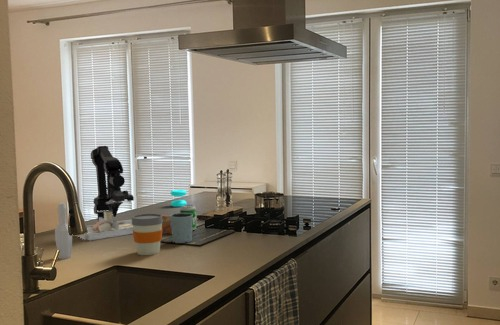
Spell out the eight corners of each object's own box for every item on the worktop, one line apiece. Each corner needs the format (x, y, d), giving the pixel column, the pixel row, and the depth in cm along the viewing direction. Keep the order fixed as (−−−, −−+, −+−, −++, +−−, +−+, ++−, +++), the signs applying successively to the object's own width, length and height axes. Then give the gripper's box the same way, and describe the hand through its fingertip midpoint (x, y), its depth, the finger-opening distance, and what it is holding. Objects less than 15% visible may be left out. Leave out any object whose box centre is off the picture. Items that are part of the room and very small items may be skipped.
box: (72, 235, 258) (72, 226, 258) (97, 231, 266) (97, 223, 265) (84, 240, 246) (83, 231, 246) (109, 235, 254) (109, 227, 254)
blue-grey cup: (184, 237, 246) (183, 211, 245) (198, 240, 239) (197, 214, 238) (166, 241, 239) (165, 215, 238) (180, 244, 232) (179, 217, 231)
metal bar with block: (97, 223, 268) (96, 209, 268) (103, 222, 270) (102, 208, 269) (114, 229, 252) (113, 214, 252) (120, 228, 254) (119, 213, 254)
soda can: (184, 232, 258) (183, 207, 257) (178, 229, 265) (178, 205, 264) (198, 230, 262) (197, 206, 261) (193, 228, 268) (192, 204, 267)
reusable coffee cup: (129, 251, 222) (127, 215, 221) (157, 247, 228) (156, 212, 227) (138, 257, 211) (136, 220, 210) (168, 253, 218) (167, 216, 216)
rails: (72, 233, 261) (72, 227, 261) (130, 225, 280) (130, 219, 280) (88, 240, 244) (88, 234, 244) (149, 230, 263) (149, 224, 263)
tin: (151, 232, 261) (150, 215, 260) (155, 230, 264) (154, 214, 263) (176, 234, 254) (176, 217, 253) (180, 233, 257) (180, 215, 256)
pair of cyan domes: (167, 191, 338) (177, 189, 346) (167, 206, 339) (177, 204, 347) (179, 191, 333) (189, 189, 341) (180, 207, 334) (190, 205, 342)
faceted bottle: (53, 257, 214) (50, 203, 213) (67, 254, 219) (65, 201, 217) (61, 260, 210) (58, 204, 208) (76, 257, 215) (73, 202, 213)
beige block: (99, 231, 258) (97, 226, 257) (108, 228, 260) (106, 222, 260) (103, 233, 254) (101, 227, 253) (112, 229, 257) (110, 223, 256)
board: (99, 231, 265) (99, 227, 265) (127, 227, 274) (127, 223, 274) (110, 235, 255) (109, 231, 255) (138, 230, 264) (138, 226, 264)
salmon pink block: (95, 231, 263) (92, 227, 261) (102, 225, 265) (98, 220, 263) (99, 232, 259) (95, 228, 258) (106, 226, 261) (102, 221, 260)
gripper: (101, 188, 250) (103, 221, 251) (138, 184, 261) (139, 216, 262) (92, 186, 258) (93, 218, 260) (128, 182, 270) (129, 213, 271)
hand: (114, 216), depth 263 cm, fingers closed
